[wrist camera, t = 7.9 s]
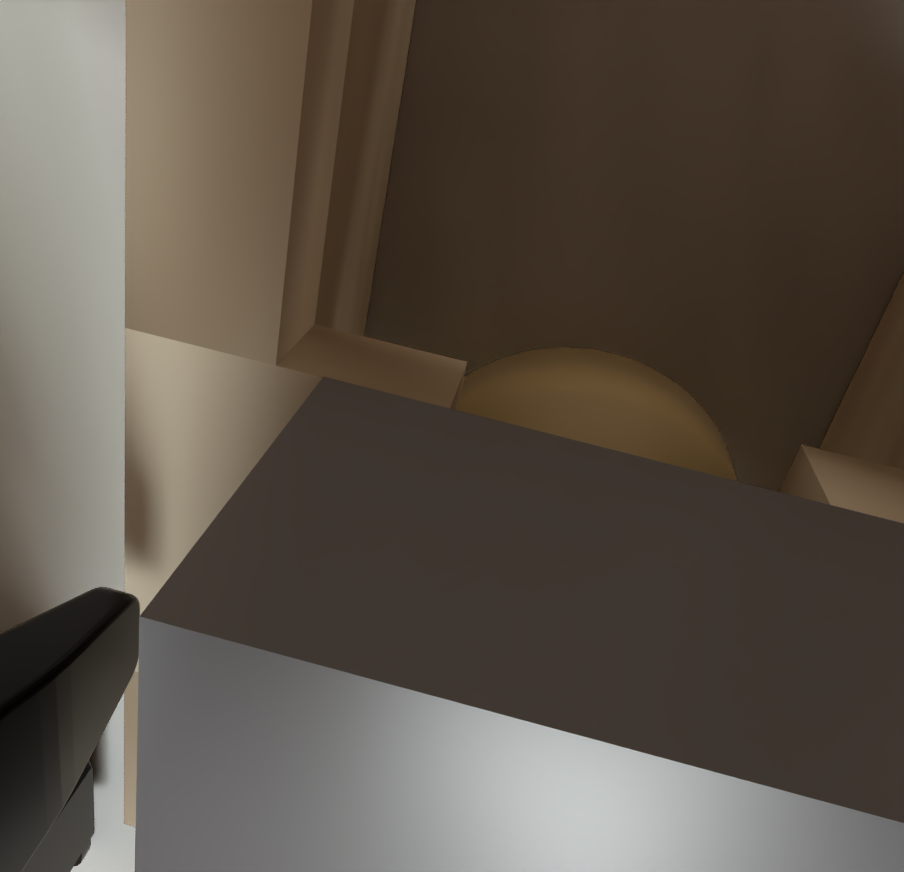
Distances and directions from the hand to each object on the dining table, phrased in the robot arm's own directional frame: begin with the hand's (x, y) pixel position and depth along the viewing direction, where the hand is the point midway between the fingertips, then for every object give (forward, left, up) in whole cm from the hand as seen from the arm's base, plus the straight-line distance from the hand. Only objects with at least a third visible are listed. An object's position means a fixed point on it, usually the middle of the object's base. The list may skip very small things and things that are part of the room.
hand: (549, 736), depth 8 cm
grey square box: (0, 0, -5) cm, 5 cm away
